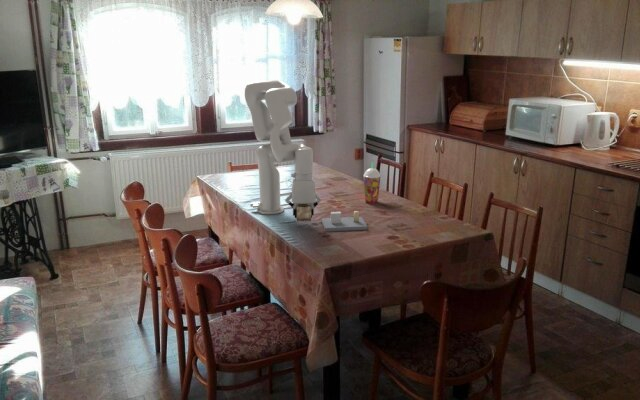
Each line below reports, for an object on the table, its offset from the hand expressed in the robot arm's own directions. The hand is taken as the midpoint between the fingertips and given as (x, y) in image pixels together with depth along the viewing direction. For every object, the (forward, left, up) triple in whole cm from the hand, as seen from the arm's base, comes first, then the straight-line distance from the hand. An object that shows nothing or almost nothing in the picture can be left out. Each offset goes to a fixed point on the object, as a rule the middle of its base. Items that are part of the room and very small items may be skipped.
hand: (303, 216), depth 230 cm
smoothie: (+36, +32, -5) cm, 49 cm away
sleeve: (0, 0, -1) cm, 1 cm away
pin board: (+17, -1, -5) cm, 18 cm away
